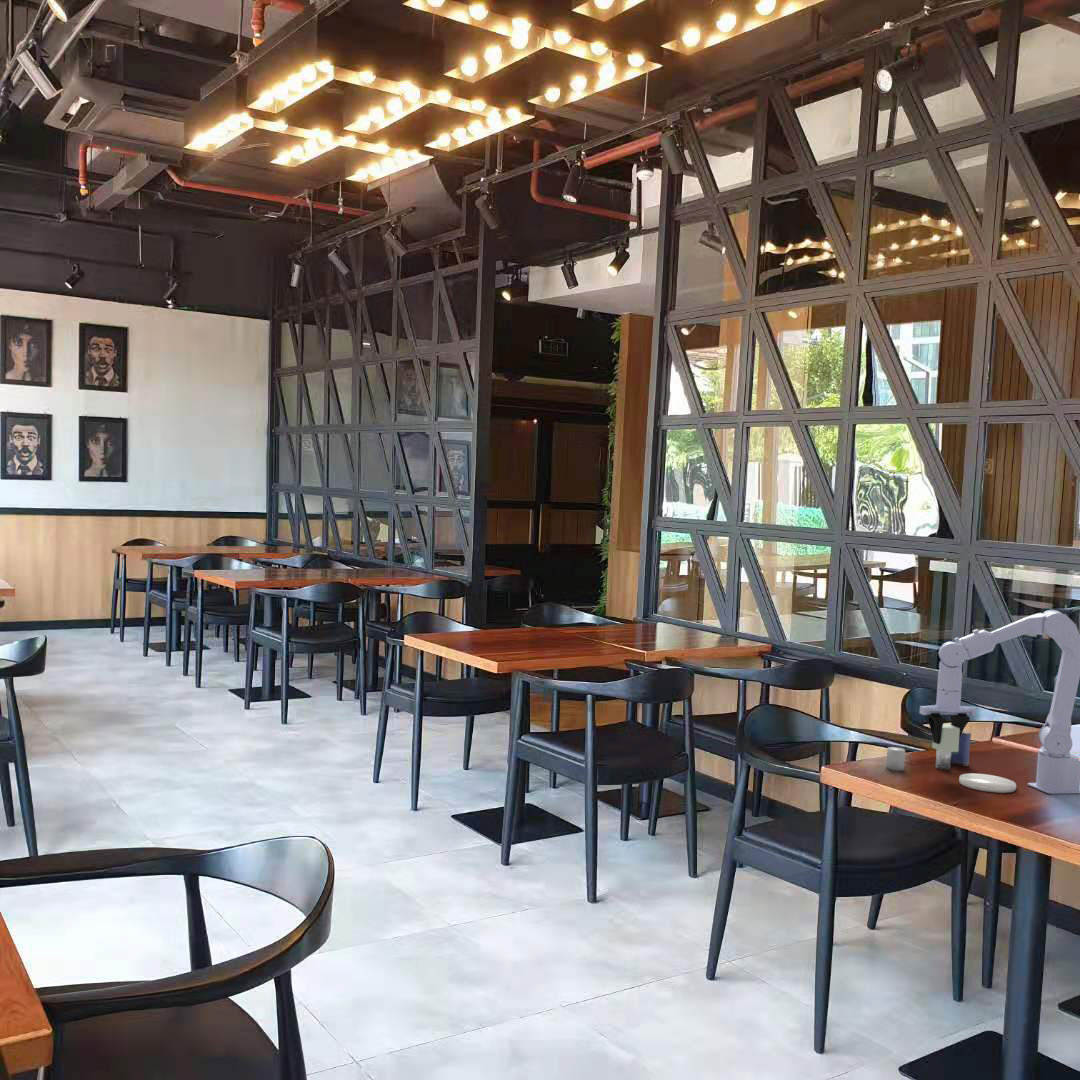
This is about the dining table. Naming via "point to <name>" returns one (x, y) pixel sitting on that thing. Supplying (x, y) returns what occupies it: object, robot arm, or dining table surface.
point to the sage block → (948, 739)
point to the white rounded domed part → (895, 758)
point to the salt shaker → (943, 760)
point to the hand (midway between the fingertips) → (945, 742)
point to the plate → (987, 783)
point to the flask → (962, 750)
